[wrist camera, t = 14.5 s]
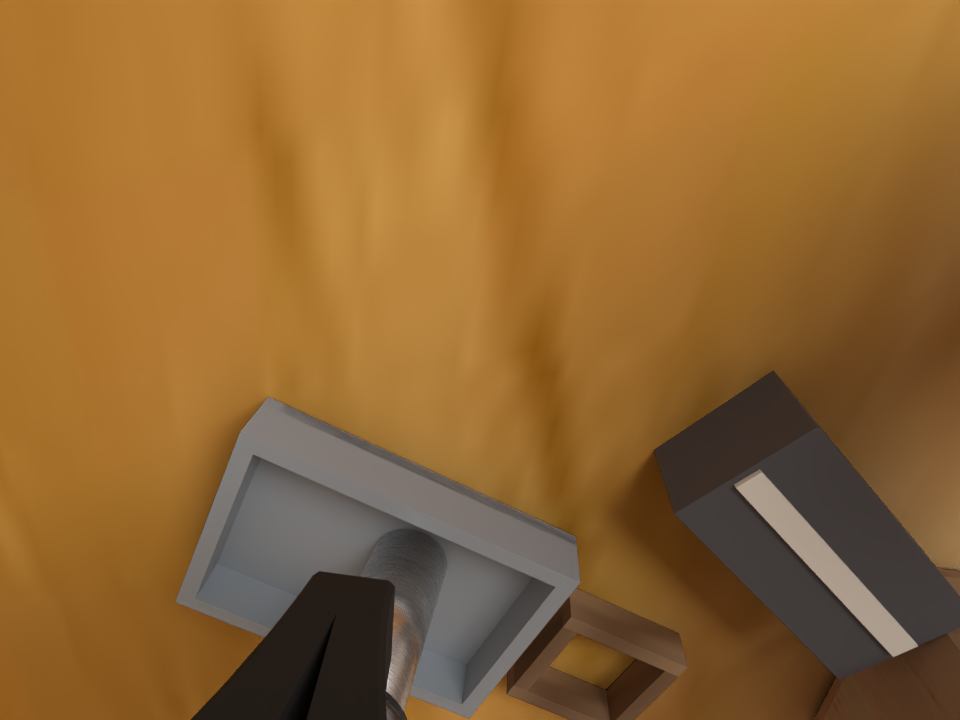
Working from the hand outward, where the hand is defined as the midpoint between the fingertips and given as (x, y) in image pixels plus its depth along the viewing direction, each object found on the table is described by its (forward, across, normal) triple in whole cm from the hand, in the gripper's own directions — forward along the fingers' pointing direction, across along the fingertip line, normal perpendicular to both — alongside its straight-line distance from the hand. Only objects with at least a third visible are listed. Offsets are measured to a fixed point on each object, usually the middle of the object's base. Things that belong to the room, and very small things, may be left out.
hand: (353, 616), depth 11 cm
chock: (+10, -12, +3) cm, 16 cm away
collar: (+10, -7, +12) cm, 17 cm away
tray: (+10, +2, +8) cm, 13 cm away
